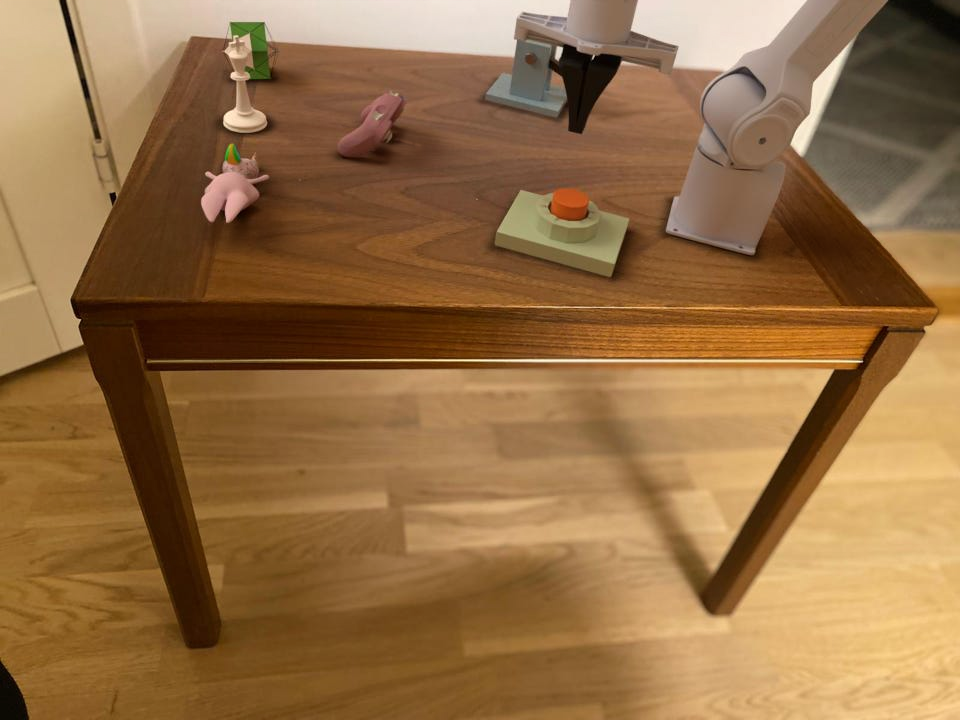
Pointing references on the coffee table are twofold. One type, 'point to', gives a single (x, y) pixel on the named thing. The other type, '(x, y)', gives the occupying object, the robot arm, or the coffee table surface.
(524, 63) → the switch bracket
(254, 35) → the geometric puzzle
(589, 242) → the button block
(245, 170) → the pink plush unicorn
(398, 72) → the coffee table surface
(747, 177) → the robot arm
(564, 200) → the button
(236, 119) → the chess piece
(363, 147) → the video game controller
